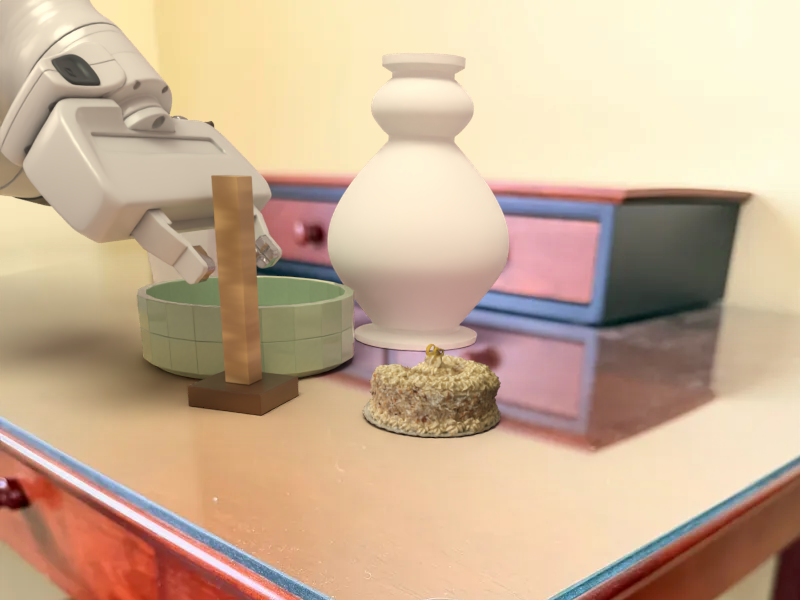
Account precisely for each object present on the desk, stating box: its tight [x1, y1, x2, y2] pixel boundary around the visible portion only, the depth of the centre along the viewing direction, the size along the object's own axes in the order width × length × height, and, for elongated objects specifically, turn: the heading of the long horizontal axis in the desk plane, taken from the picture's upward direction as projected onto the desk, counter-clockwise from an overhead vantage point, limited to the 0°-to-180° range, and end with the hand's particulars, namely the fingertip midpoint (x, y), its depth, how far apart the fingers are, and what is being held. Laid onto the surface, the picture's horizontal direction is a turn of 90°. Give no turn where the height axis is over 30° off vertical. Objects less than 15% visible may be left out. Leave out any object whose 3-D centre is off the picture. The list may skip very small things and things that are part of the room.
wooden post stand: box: [186, 175, 299, 416], centre depth 58 cm, size 6×6×16 cm
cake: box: [362, 344, 502, 438], centre depth 58 cm, size 10×10×5 cm
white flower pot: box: [146, 229, 218, 283], centre depth 89 cm, size 10×9×13 cm
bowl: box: [136, 275, 355, 380], centre depth 73 cm, size 19×19×6 cm
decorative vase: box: [327, 52, 510, 352], centre depth 79 cm, size 18×18×25 cm
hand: (241, 268), depth 58 cm, fingers open, 8 cm apart
